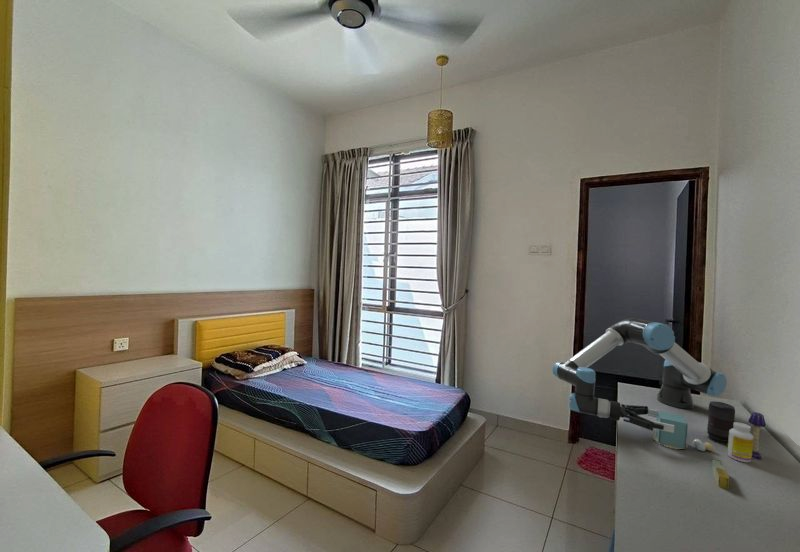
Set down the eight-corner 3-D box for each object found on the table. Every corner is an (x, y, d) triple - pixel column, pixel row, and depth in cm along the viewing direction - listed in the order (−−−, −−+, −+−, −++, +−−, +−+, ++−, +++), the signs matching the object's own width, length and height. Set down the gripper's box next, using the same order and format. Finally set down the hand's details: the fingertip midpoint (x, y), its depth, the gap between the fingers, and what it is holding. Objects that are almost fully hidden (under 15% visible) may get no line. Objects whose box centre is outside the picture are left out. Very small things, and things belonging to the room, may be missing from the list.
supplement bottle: (756, 464, 130) (759, 430, 129) (735, 461, 131) (738, 427, 131) (742, 454, 137) (745, 422, 136) (722, 452, 138) (725, 419, 137)
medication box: (711, 469, 126) (711, 458, 126) (721, 472, 124) (721, 461, 124) (718, 487, 116) (719, 475, 115) (729, 490, 114) (730, 478, 114)
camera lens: (700, 434, 152) (704, 400, 151) (720, 436, 152) (723, 401, 151) (717, 444, 144) (720, 408, 143) (737, 446, 144) (741, 409, 143)
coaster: (658, 433, 151) (658, 432, 151) (691, 444, 143) (691, 443, 143) (649, 440, 145) (649, 439, 144) (682, 453, 136) (682, 451, 136)
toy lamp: (764, 461, 133) (768, 417, 132) (747, 457, 135) (751, 414, 134) (759, 455, 137) (763, 412, 136) (743, 451, 139) (747, 409, 138)
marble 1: (693, 444, 143) (694, 436, 143) (703, 447, 141) (704, 440, 141) (691, 446, 142) (692, 438, 141) (701, 449, 139) (701, 442, 139)
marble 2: (696, 447, 140) (697, 440, 140) (706, 451, 138) (707, 443, 138) (694, 450, 139) (695, 442, 138) (704, 453, 136) (705, 445, 136)
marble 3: (703, 447, 141) (704, 440, 141) (713, 451, 139) (714, 443, 138) (701, 449, 139) (702, 442, 139) (711, 453, 137) (712, 445, 137)
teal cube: (655, 434, 149) (657, 410, 149) (681, 439, 145) (683, 415, 145) (658, 442, 142) (660, 418, 141) (685, 449, 138) (687, 423, 137)
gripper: (607, 407, 164) (663, 419, 154) (609, 429, 142) (676, 445, 132) (608, 391, 164) (665, 402, 154) (611, 411, 142) (677, 425, 132)
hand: (670, 422), depth 143 cm, fingers open, 13 cm apart
